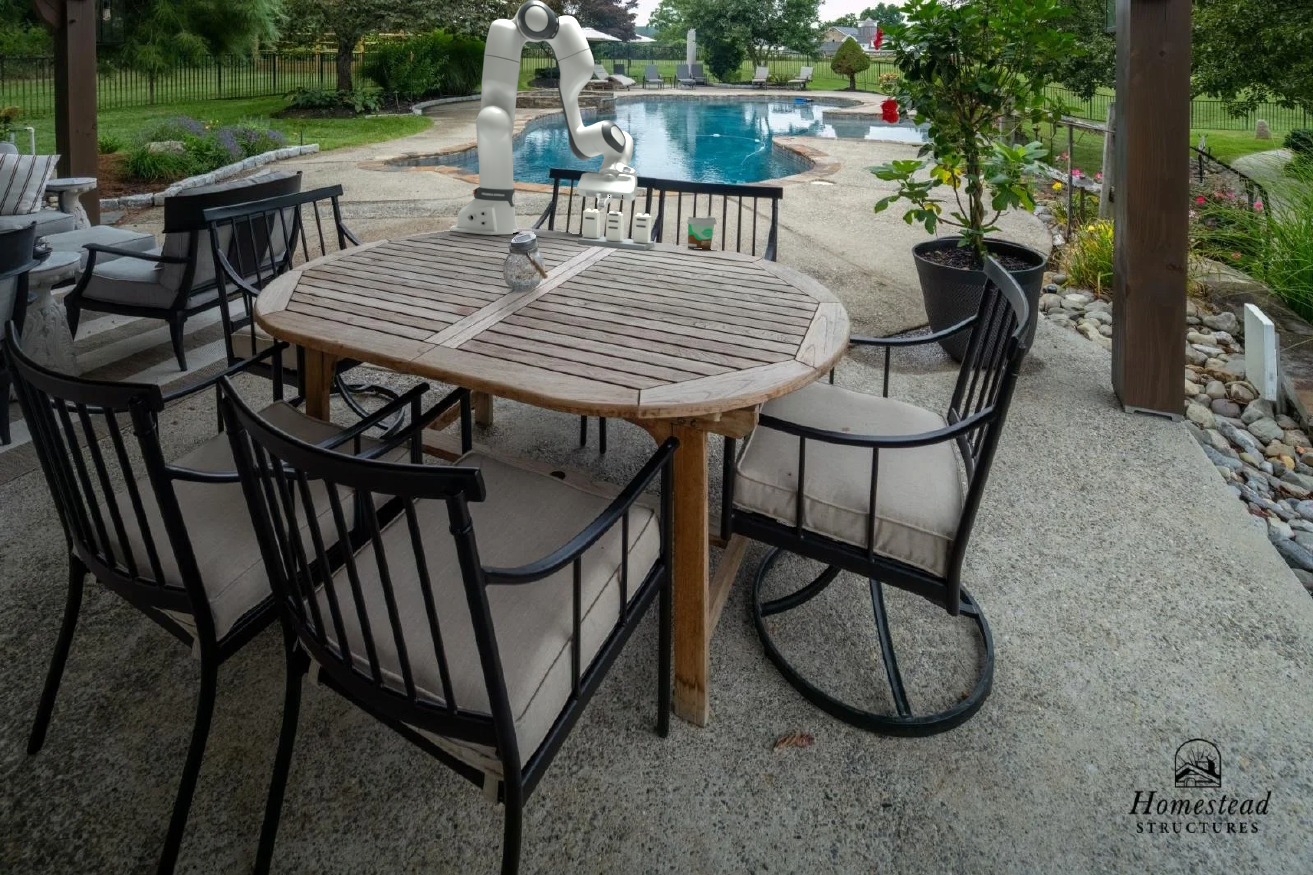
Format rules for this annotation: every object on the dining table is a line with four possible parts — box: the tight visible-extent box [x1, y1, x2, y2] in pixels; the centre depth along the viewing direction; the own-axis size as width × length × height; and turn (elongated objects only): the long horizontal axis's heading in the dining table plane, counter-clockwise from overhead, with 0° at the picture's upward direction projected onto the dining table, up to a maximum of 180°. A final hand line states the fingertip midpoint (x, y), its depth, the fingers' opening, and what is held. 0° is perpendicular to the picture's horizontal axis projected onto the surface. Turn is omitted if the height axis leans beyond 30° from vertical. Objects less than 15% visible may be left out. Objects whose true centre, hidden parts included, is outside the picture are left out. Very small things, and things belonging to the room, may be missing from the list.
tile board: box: [577, 235, 655, 252], centre depth 242 cm, size 22×12×2 cm, turn 76°
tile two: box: [632, 212, 653, 243], centre depth 238 cm, size 5×3×9 cm
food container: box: [686, 215, 717, 250], centre depth 245 cm, size 12×6×10 cm, turn 143°
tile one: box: [582, 208, 602, 238], centre depth 241 cm, size 5×3×9 cm
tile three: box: [605, 210, 625, 241], centre depth 238 cm, size 5×3×9 cm
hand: (601, 206), depth 248 cm, fingers closed
